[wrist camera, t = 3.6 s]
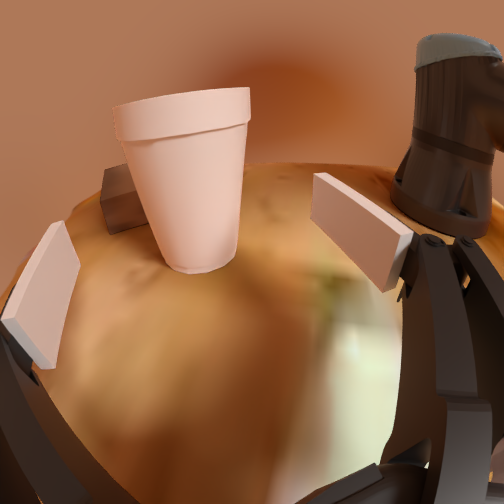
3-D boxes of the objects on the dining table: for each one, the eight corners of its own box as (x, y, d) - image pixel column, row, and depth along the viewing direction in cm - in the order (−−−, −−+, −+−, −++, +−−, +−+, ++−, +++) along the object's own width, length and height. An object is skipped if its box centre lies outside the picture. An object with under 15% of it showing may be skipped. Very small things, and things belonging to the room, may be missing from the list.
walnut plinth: (195, 171, 41) (192, 147, 39) (228, 201, 31) (226, 168, 29) (110, 193, 36) (104, 169, 34) (110, 234, 26) (99, 201, 24)
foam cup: (131, 252, 23) (99, 110, 16) (209, 215, 28) (197, 91, 21) (186, 306, 18) (146, 99, 10) (278, 249, 23) (278, 86, 15)
